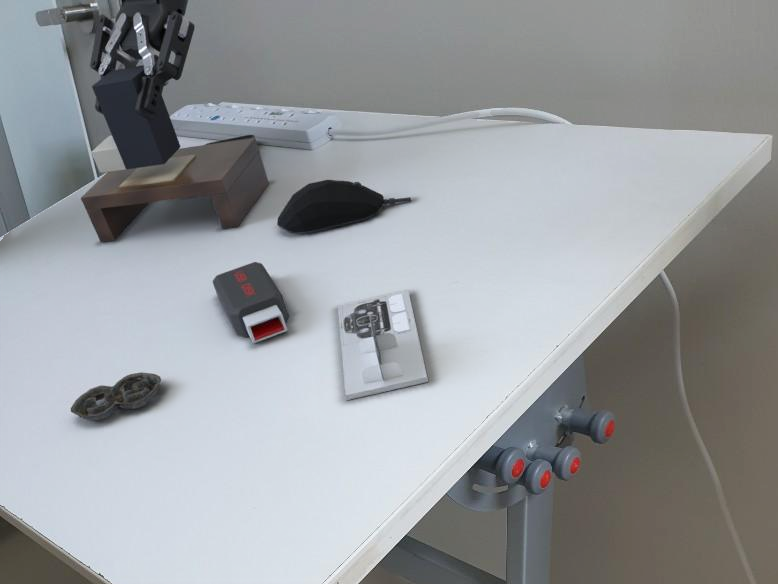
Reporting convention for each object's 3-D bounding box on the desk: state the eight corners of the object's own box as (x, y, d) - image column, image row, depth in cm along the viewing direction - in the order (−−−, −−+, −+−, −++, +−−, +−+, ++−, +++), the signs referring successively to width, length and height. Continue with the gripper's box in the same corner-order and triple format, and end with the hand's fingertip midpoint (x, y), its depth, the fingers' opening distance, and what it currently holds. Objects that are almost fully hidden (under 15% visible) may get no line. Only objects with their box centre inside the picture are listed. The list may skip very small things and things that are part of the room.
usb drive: (266, 279, 88) (258, 254, 86) (298, 329, 79) (289, 302, 77) (217, 297, 87) (208, 272, 85) (244, 349, 78) (234, 322, 76)
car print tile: (428, 381, 69) (417, 331, 66) (346, 400, 69) (332, 351, 66) (409, 293, 80) (399, 247, 77) (338, 310, 80) (326, 265, 77)
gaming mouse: (413, 212, 93) (405, 175, 90) (278, 241, 94) (267, 205, 91) (409, 189, 97) (402, 153, 95) (281, 218, 99) (271, 183, 96)
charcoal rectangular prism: (181, 146, 102) (150, 63, 96) (164, 164, 98) (132, 79, 92) (117, 156, 104) (84, 75, 98) (99, 173, 101) (63, 91, 95)
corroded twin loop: (74, 404, 77) (68, 395, 76) (160, 373, 78) (156, 363, 77) (77, 433, 73) (71, 423, 72) (168, 400, 74) (163, 390, 73)
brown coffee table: (100, 242, 104) (79, 196, 100) (140, 199, 112) (122, 154, 109) (237, 227, 99) (220, 177, 95) (269, 183, 107) (254, 135, 104)
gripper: (90, -57, 95) (56, 98, 97) (176, -68, 87) (137, 100, 89) (145, -17, 101) (112, 128, 103) (229, -24, 93) (192, 133, 95)
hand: (124, 114), depth 96 cm, fingers closed on charcoal rectangular prism, 6 cm apart
